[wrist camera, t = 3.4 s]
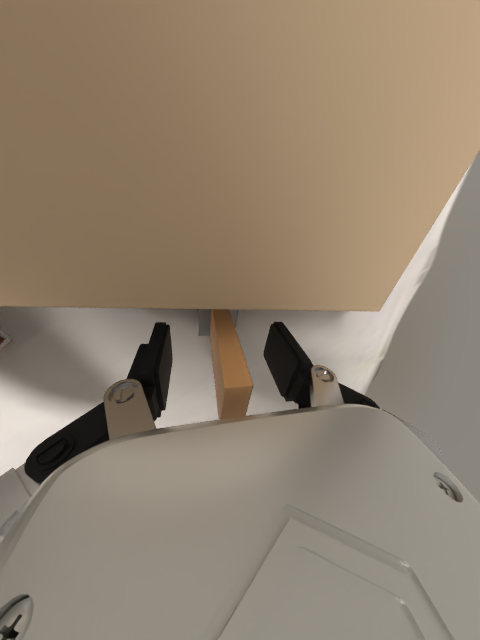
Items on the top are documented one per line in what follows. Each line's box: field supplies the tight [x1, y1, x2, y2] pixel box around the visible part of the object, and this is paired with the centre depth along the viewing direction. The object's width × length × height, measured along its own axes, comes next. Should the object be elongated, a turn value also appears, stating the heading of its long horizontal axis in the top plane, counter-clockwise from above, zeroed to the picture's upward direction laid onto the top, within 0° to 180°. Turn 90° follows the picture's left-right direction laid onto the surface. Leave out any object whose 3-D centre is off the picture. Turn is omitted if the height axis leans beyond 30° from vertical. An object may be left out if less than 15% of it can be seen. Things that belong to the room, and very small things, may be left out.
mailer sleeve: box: [0, 0, 480, 311], centre depth 8 cm, size 11×18×6 cm, turn 83°
